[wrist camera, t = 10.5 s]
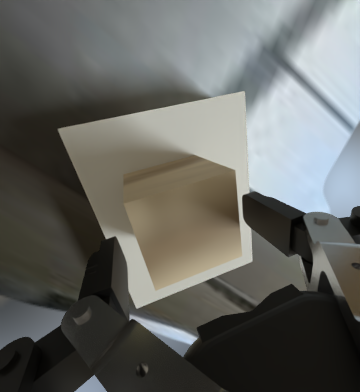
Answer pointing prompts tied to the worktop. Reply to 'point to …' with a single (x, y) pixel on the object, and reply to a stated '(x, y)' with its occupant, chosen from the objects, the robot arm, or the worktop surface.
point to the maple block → (183, 217)
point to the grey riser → (152, 156)
